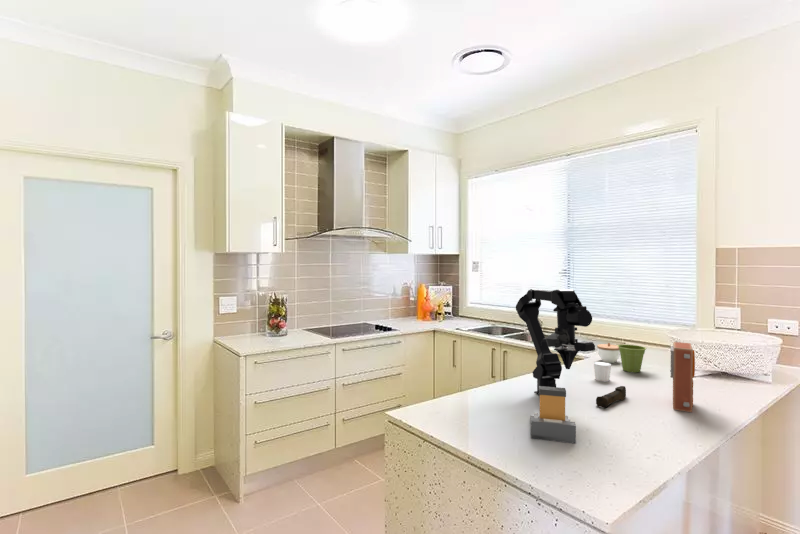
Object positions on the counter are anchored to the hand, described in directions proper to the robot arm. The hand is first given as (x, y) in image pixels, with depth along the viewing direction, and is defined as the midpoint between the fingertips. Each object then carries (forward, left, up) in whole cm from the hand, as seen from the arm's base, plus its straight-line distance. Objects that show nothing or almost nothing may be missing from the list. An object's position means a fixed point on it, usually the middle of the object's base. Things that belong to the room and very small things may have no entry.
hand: (567, 369), depth 151 cm
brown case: (+20, +35, -13) cm, 42 cm away
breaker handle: (+15, -24, -12) cm, 31 cm away
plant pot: (-18, +65, -13) cm, 69 cm away
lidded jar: (-36, +73, -13) cm, 82 cm away
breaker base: (+13, -23, -13) cm, 29 cm away
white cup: (-15, +40, -13) cm, 45 cm away
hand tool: (+5, +18, -13) cm, 23 cm away
